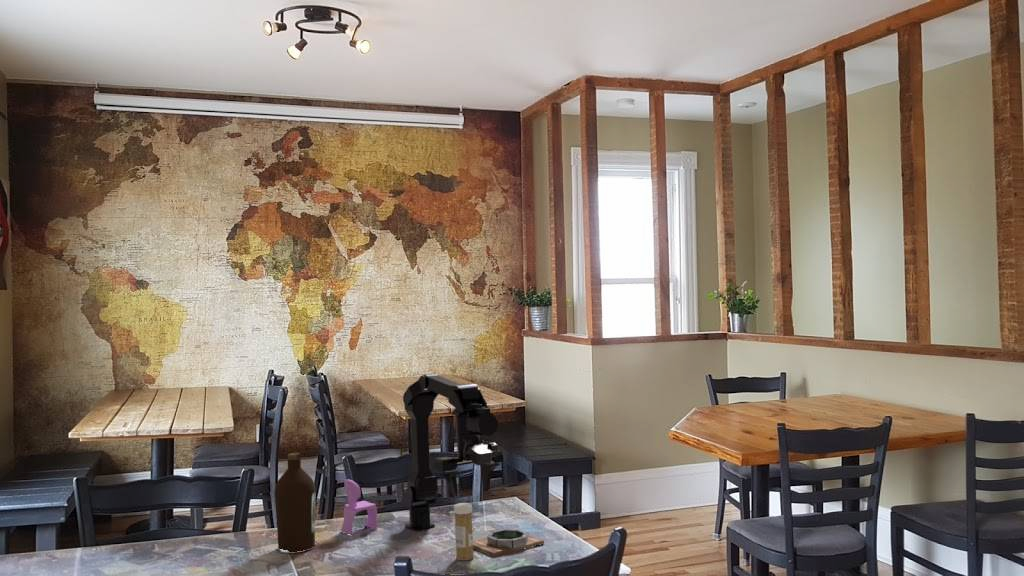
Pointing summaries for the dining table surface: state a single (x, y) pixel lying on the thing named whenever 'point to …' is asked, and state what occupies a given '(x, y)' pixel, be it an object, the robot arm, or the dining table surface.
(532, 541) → the wooden base board
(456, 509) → the sprinkles bottle
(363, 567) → the dining table surface
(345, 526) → the toy chair
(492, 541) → the ring
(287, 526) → the olive oil
